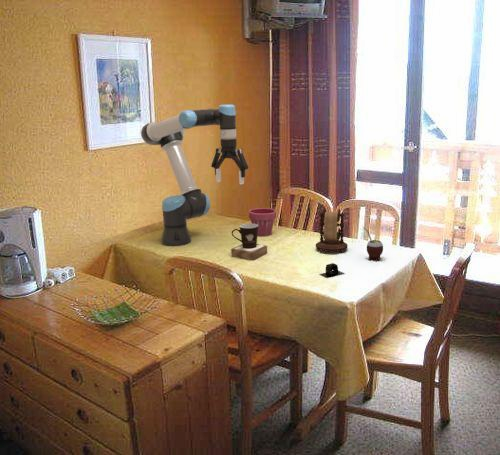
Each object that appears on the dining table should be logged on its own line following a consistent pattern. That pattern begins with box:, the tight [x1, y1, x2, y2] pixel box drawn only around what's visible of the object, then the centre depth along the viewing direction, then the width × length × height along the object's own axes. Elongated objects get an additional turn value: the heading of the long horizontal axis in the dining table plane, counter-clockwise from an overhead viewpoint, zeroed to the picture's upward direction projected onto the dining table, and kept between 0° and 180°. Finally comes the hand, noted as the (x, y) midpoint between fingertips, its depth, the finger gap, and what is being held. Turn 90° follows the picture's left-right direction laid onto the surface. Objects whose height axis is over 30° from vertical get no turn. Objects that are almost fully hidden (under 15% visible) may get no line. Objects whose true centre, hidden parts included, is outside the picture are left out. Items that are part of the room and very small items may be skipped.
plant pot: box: [248, 207, 277, 237], centre depth 269 cm, size 14×14×13 cm
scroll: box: [315, 208, 348, 254], centre depth 237 cm, size 15×15×20 cm
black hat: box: [318, 262, 346, 279], centre depth 207 cm, size 12×7×5 cm, turn 119°
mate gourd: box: [362, 226, 384, 262], centre depth 222 cm, size 8×8×15 cm
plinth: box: [230, 243, 268, 262], centre depth 235 cm, size 12×12×4 cm
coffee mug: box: [231, 223, 258, 249], centre depth 234 cm, size 12×9×10 cm
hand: (230, 183), depth 243 cm, fingers open, 13 cm apart
